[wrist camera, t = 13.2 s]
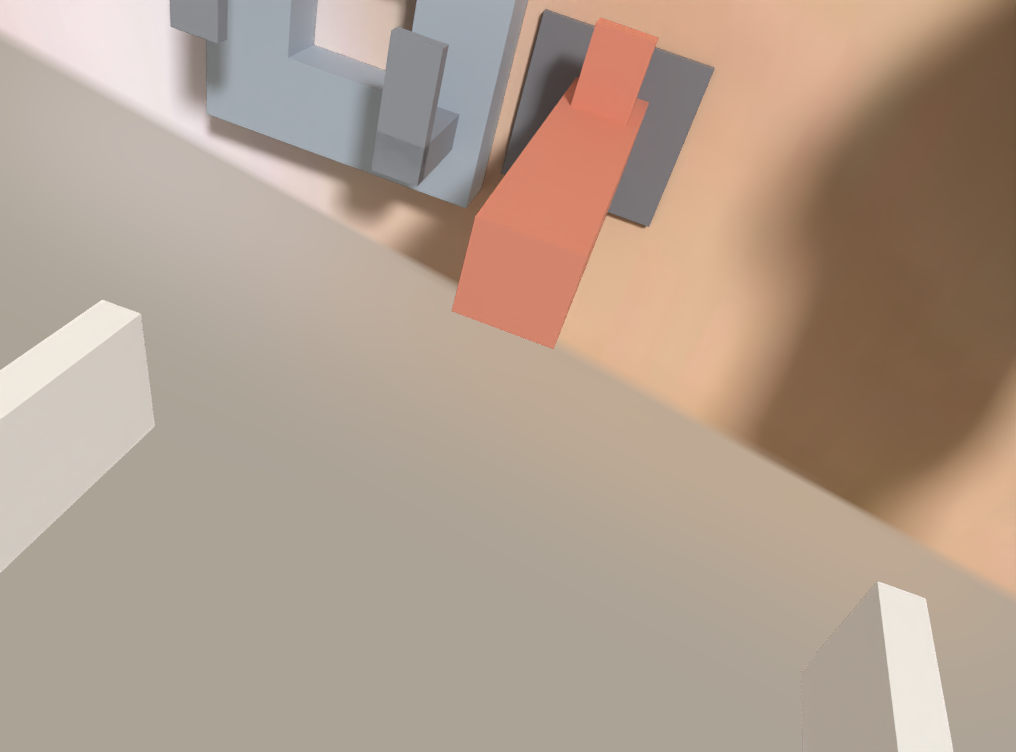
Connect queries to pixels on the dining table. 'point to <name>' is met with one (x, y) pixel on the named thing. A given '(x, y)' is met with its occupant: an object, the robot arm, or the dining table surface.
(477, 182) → the eye block
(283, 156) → the dining table surface
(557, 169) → the orange tabbed bar
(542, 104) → the mat
